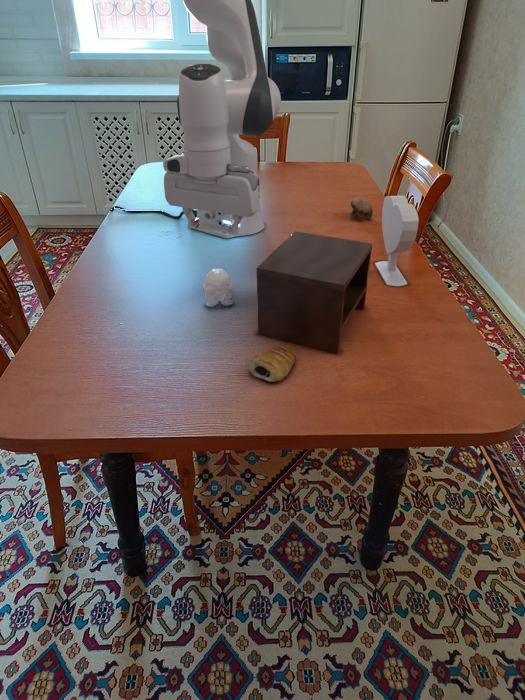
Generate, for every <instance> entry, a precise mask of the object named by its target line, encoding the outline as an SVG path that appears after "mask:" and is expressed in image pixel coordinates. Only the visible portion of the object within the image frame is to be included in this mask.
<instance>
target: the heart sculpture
mask: <svg viewBox="0 0 525 700" xmlns="http://www.w3.org/2000/svg"><path fill="white" fill-rule="evenodd" d="M381 212H382V213H381V229H382V237H383V242H384V248H385V254H386V255H388V257H387V260H381V261H377V262H374V264H375V267H376V268H377V270H378V272H379V274H380V275H381V277H382V278H383V280H384V282H385V284H386V285H387V286H393V287H402V286H405V285H408V282H407V280H406V279H405V277H404V276H403V274H402V273H401V271H400V270H399V268H398V266H397V265H398V259H399V255H401V254H403V253H406V252H408V251H410V250H411V249H412V247H413V245H414V243H415V242H416V239H417V234H418V230H419V222H420V219H419V214H418V212H417V209H416V207H415V206H414V204H412V203H409V202H408V197H406V196H405V195H386V196H385V197H384V198H383V204H382V211H381Z"/></svg>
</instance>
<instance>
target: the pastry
mask: <svg viewBox="0 0 525 700" xmlns="http://www.w3.org/2000/svg"><path fill="white" fill-rule="evenodd" d="M295 361H296V353H295V351H294V350H293V349H291V348H290V347H288V346H286V345H285V346H284V345H280V346H276V347H275V346H274V347H272V348H267V349H266V350H263V351H261V352H260V354H257V355H256V356H255V357H254V358H253V360H252V363H251V364H250V366H249V367H248V370H249V372H250V373H251V375H252V376H253V377H256V378H259V379H261V380H264V381H266V382H269V383H274V382H279V381H282V380H283V379H284V378H286V377H287V376H288V375H289V373H290V372H291V370H292V368H293V366H294V363H295Z"/></svg>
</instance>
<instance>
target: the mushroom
mask: <svg viewBox="0 0 525 700" xmlns="http://www.w3.org/2000/svg"><path fill="white" fill-rule="evenodd" d="M350 206H351V207H350V208H352V210H351V211H350V212H349V213H348V215H349V217H350V218H351V219H352V220H353V219H354V220H356V219H357V218H360V217H362V218H365V219H367V220H370V219H372V217H373V213H374V212H373V206H372V205H371V204H370V203H369V202H368V201H367V200H366V199H364V198H362V197H354V198H353V199H351V200H350Z"/></svg>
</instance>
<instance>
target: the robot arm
mask: <svg viewBox="0 0 525 700" xmlns="http://www.w3.org/2000/svg"><path fill="white" fill-rule="evenodd" d="M182 4H183V5H184V7H185V8H186V10H187V11H188V13H189V14H190V15H191V16H192V17H193V18H194V19H195V20H196V21H197V22H199V23H200V24H202V25H204V26H205V32H206V41H207V49H208V52H209V54H210V55H211V57H212V58H213V59H215V60H216V61H217V62H219V63H221V64H222V65H224V66H226V69H227V70H228V72H229V75H230V79H227V80H224V74H223V71H222V68H221V67H219V66H218V65H214V64H212V63H193V64H191V65H186V66H185V67H183V68H182V69H181V70H180V72H179V75H178V77H179V78H178V95H177V97H176V108H177V118H178V123H179V125H180V126H181V127H182V130H183V147H182V148H183V151H182V152H180V153H177V154H175V155H172V156H170V157H168V158H166V159H164V160H163V161H162V167H163V170H164V171H165V173H164V176H163V190H164V198H165V201H166V202H167V204H168V205H169V206H171V207H179V208H182V210H181V212H179V214H178V215H173V214H171V213H168V212H166V211H164V210H160V211H125V210H120V209H126V208H125V207H123V206H120V205H115V206H112V207H111V208H110V209H109V212H114V211H115V210H116V209H114V207H115V208H120V209H118V210H120V211H122V212H124V213H127V214H161V215H164V216H165V217H168V218H171V219H174V220H180V219H182V217H183V215H184V216H185V218H186V219H187V220H188V227H189V229H193V230H196V231H199V232H202V233H207V234H209V235H213V236H216V237H220V238H223V239H232V238H235V237H243V236H250V235H254V234H257V233H259V232H261V231H262V230H264V228H265V223H264V220H263V216H262V211H261V204H260V198H261V188H260V178H259V172H258V171H259V169H258V168H259V166H258V165H259V164H258V152H257V150H256V147H255V146H254V145H253V144H252V143H251V142H249V141H248V140H244V139H243V138H241V137H240V135H243V136H248V137H249V136H251V137H261V136H262V135H264V133H266V132H267V131H268V130H269V129H270V128H271V127H272V125H273V124H274V120H275V118H276V117H277V115H278V113H279V111H280V109H281V104H282V97H281V92H280V89H279V87H278V85H277V84H276V83H275V81H274V80H272V79H271V78H270V77H269V76H268V73H267V67H266V62H265V57H264V55H265V54H264V50H263V45H262V40H261V34H260V29H259V24H258V18H257V14H256V11H255V7H254V4H253V1H252V0H182ZM111 209H112V210H111ZM162 211H163V212H162Z"/></svg>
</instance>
